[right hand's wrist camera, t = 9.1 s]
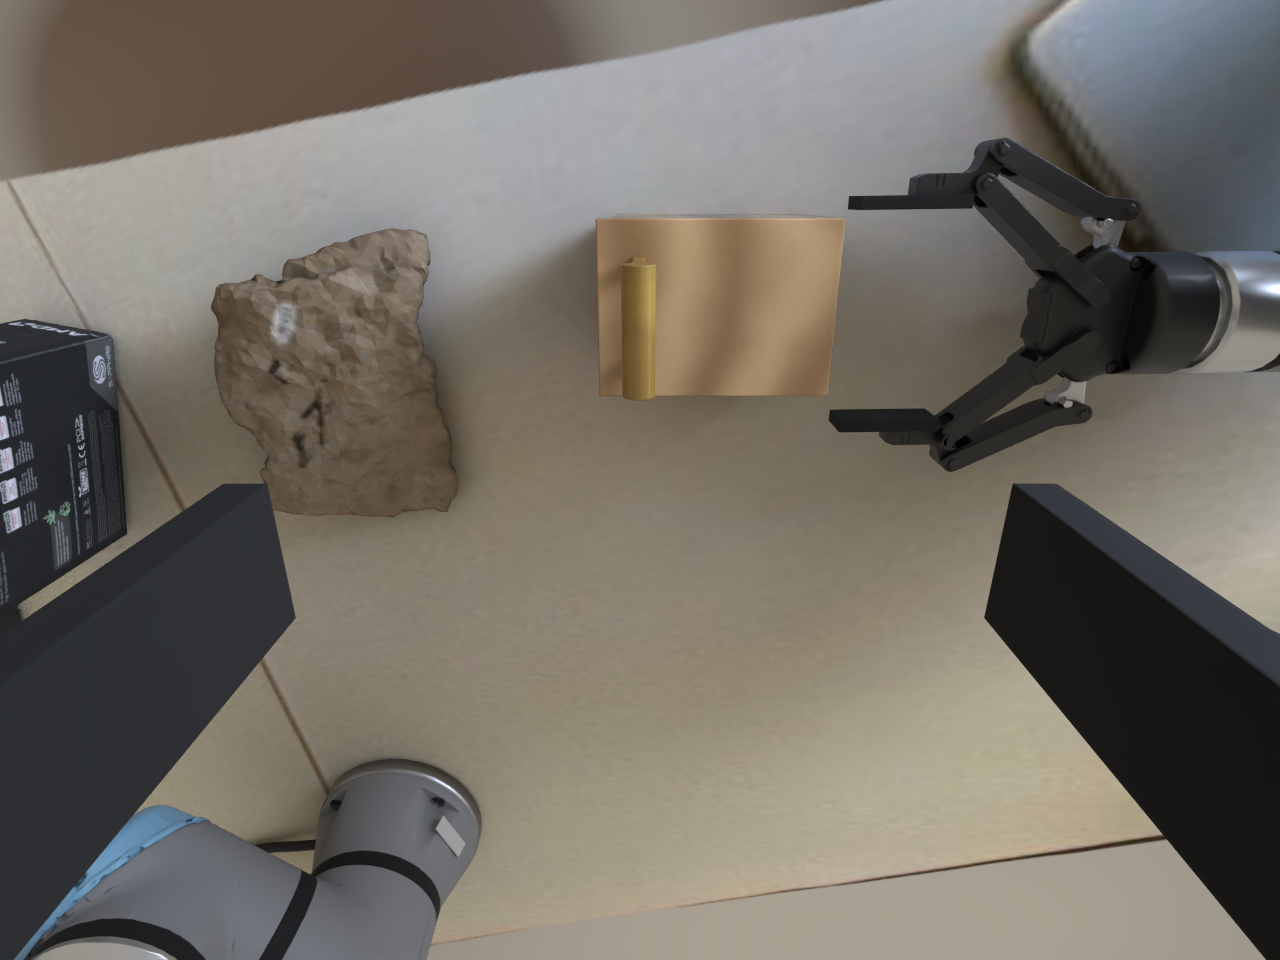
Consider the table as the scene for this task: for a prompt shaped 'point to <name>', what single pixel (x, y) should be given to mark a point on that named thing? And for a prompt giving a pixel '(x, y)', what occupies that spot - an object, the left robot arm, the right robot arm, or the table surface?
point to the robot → (9, 620)
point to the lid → (717, 305)
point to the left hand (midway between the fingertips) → (843, 317)
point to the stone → (339, 379)
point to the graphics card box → (56, 454)
